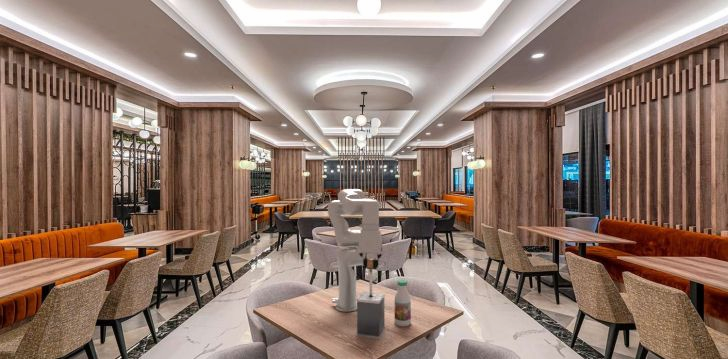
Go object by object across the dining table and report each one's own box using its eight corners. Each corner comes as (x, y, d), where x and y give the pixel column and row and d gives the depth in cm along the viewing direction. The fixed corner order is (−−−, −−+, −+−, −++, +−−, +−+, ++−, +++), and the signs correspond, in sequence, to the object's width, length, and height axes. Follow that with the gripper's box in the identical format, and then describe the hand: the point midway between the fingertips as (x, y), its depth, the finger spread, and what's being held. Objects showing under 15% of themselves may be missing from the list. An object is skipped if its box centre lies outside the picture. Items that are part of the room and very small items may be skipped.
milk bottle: (393, 320, 152) (392, 279, 153) (408, 319, 153) (408, 278, 153) (396, 327, 144) (395, 283, 145) (412, 326, 145) (412, 283, 145)
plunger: (359, 306, 137) (359, 260, 138) (364, 300, 145) (364, 256, 146) (377, 308, 135) (377, 262, 135) (382, 301, 143) (381, 257, 143)
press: (356, 336, 136) (356, 299, 136) (365, 323, 148) (364, 289, 149) (379, 339, 133) (379, 301, 133) (386, 326, 145) (386, 291, 146)
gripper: (350, 227, 140) (350, 268, 139) (386, 228, 135) (387, 271, 134) (355, 225, 147) (355, 264, 146) (390, 226, 142) (390, 267, 141)
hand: (370, 267), depth 140 cm, fingers closed on plunger, 4 cm apart
